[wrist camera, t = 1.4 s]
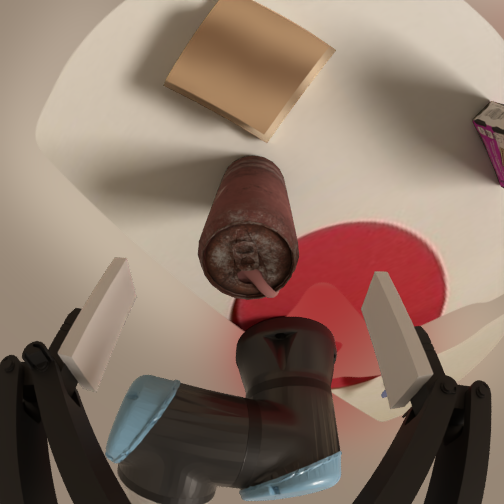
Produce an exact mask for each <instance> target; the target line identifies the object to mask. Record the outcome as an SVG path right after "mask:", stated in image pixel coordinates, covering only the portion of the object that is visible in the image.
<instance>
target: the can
mask: <svg viewBox="0 0 504 504" xmlns="http://www.w3.org/2000/svg"><path fill="white" fill-rule="evenodd" d="M198 257H199V260H200V263H201V267H202V269H203V271H204V275H205V276H206V278H207V279H208V280H209V282H210V283H211V284H212V285H213V286H214V287H215V288H217V289H218V290H219V291H221V292H222V293H224V294H227V295H229V296H231V297H234V298H240V299H247V300H249V299H260V298H263V297H267V298H273V297H275V296H276V295H277V294H278V293H279V290H280V289H281V288H283V287H284V286H285V284H286V283H287V282H288V281H289V279H290V278H291V276H292V273H293V272H294V271H295V269H296V265H297V262H298V259H299V250H298V241H297V236H296V231H295V227H294V222H293V217H292V213H291V208H290V204H289V199H288V195H287V190H286V186H285V182H284V177H283V175H282V173H281V171H280V169H279V168H278V167H277V166H276V165H275V164H274V163H273V162H272V161H270V160H268V159H266V158H264V157H259V156H247V157H242V158H240V159H238V160H236V161H234V162H233V163H232V164H231V165H230V166H229V167H228V168H227V170H226V172H225V174H224V176H223V178H222V181H221V184H220V186H219V189H218V191H217V194H216V197H215V199H214V202H213V205H212V207H211V210H210V213H209V215H208V218H207V221H206V223H205V226H204V229H203V232H202V235H201V237H200V240H199V248H198Z"/></svg>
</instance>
